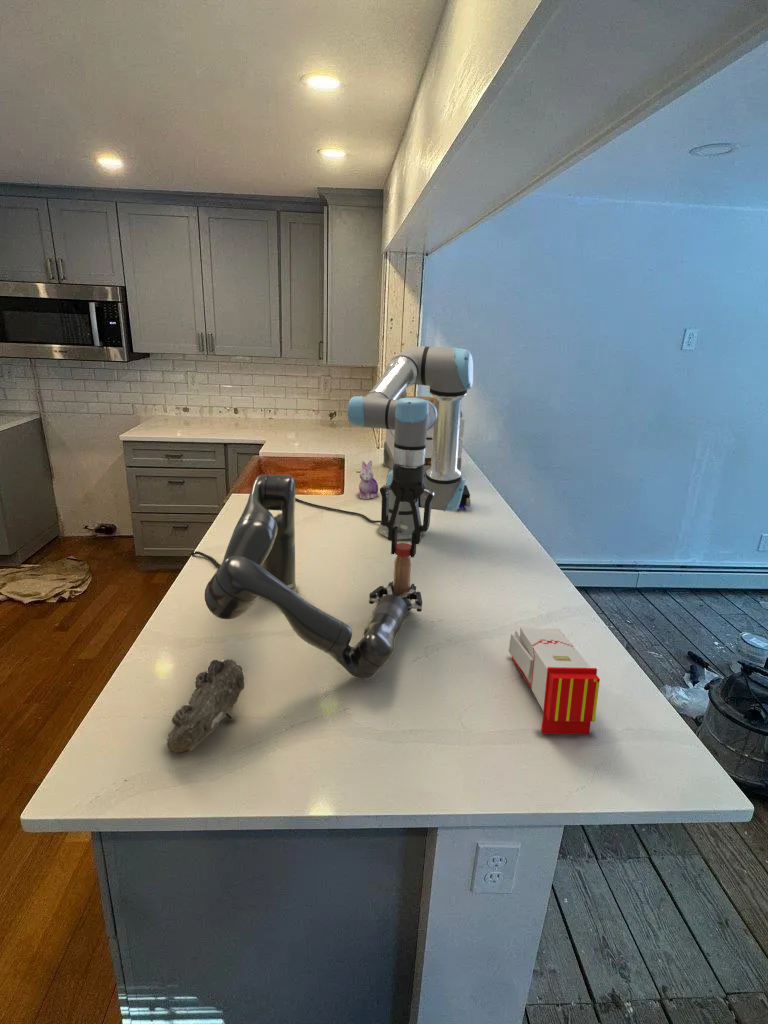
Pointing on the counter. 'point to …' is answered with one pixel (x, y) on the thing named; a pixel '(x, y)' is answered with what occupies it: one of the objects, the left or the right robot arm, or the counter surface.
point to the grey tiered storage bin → (428, 453)
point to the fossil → (206, 705)
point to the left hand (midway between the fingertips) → (403, 585)
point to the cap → (403, 549)
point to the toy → (557, 679)
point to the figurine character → (465, 498)
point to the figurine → (367, 482)
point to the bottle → (402, 575)
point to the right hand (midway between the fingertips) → (403, 553)
